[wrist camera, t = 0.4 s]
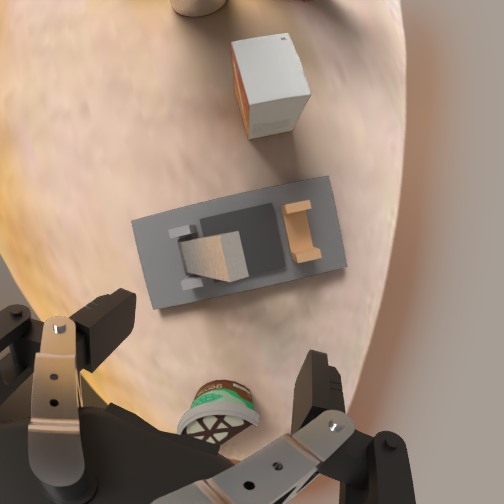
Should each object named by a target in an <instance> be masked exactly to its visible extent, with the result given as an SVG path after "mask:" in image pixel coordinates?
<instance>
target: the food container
mask: <svg viewBox="0 0 504 504" xmlns="http://www.w3.org/2000/svg"><path fill="white" fill-rule="evenodd" d="M259 419H260V415H259V414H258V413H257V412H255V411H254V407H253V403H252V398H251V394H250V390H249V389H248V388H246V387H245V386H244V385H241V384H239V383H237V382H235V381H229V380H215V381H212V382H209V383H207V384H205V385H204V386H202V387H201V388H200V389H199V391H198V392H197V394H196V396H195V399H194V401H193V403H192V406H191V408H190V410H189V411H187V412H186V413H185V414H184V415H183V416H182V418H181V419H180V421H179V424H178V427H177V434H179V435H186V436H192V437H195V438H198V439H201V440H204V441H207V442H210V443H213V444H217V445H221V444H223V443H224V442H226V441H227V440H229V439H230V438H232V437H233V436H235V435H236V434H237V433H239V432H241V431H242V430H244V429H246V428H247V427H249V426H250V425H252V424H253V425H255V426H256V427H257V423H259Z"/></svg>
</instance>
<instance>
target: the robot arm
mask: <svg viewBox="0 0 504 504" xmlns="http://www.w3.org/2000/svg"><path fill="white" fill-rule="evenodd" d="M170 1H171V4H172V7H173V9H174V10H175V11H176V12H177V13H179V14H181V15H184V16H190V17H197V16H204V15H207V14H210V13H213V12H215V11H216V10H218V9H220V8H221V7H222V6H223V5H224V3H225V2H226V0H170ZM135 309H136V294H135V293H132V292H130V291H127V290H125V289H122V288H120V289H118V290H117V291H115V292H114V293H113V294H111V295H109V294H107V295H103V296H100V297H97V298H96V299H95V300H93V301H92V302H90V303H89V304H87V305H86V307H83V308H82V309H80V310H79V311H77V312H76V313H75V314H73V315H72V316H70V317H69V318H67V317H63V316H55V317H51V318H49V319H48V320H46V321H45V322H41V321H37V320H34V319H31V312H30V310H29V308H28V307H26V306H24V305H18V304H17V305H11V306H8V307H6V308H5V309H3V310H2V311H0V352H1V351H2V350H4V349H5V348H6V347H7V346H9V348H10V353H8V354H7V355H6V356H5V357H4V358H3V359H1V360H0V405H1V404H2V403H3V402H4V401H5V400H6V399H7V398H8V397H9V396H10V395H11V394H12V393H13V392H14V391H15V390H16V389H17V388H18V387H19V386H20V385H21V384H22V383H23V382H24V381H25V380H26V379H27V378H28V377H29V376H30V375H31V374H32V373H33V372H34V375H33V388H32V404H31V417H28V418H22V419H16V420H9V421H2V422H0V504H287V503H288V502H289V501H290V500H291V499H292V498H293V497H294V496H296V495H297V494H298V493H299V492H300V491H302V490H303V489H304V488H305V487H306V486H308V485H309V484H310V483H311V482H312V481H313V480H314V479H315V478H317V476H319V475H320V474H323V475H326V476H328V477H330V478H333V479H335V480H338V481H340V494H339V495H340V496H339V504H416V501H415V494H414V487H413V481H412V475H411V469H410V464H409V458H408V453H407V448H406V444H405V442H404V441H403V439H402V438H401V437H400V436H399V435H397V434H395V433H393V432H390V431H382V432H379V433H377V434H376V436H375V437H372V436H369V435H366V434H364V433H361V432H359V431H358V430H356V429H355V425H354V422H353V420H352V419H351V418H350V417H349V416H348V415H347V414H345V405H344V398H343V392H342V385H341V384H342V383H341V376H340V374H339V372H338V371H337V369H336V368H335V367H332V366H328V359H327V354H326V353H322V352H318V351H314V350H310V351H309V352H308V354H307V356H306V359H305V361H304V363H303V366H302V368H301V370H300V372H299V375H298V377H297V380H296V383H295V388H294V400H293V414H292V426H291V436H290V435H289V434H285V435H283V436H281V437H280V438H278V439H277V440H275V441H273V442H272V443H270V444H269V445H267V446H266V447H264V448H263V449H261V450H259V451H258V452H256V453H254V454H253V455H251V456H249V457H248V458H246V459H244V460H243V461H241V462H239V463H238V464H236V465H235V464H233V463H232V462H231V461H230V460H228V459H227V458H225V457H224V456H222V455H220V454H219V453H218V451H219V448H220V445H217V444H213V443H210V442H207V441H204V440H201V439H198V438H195V437H192V436H186V435H179V434H173V433H168V432H163V431H159V430H158V429H156V428H155V427H153V426H152V425H150V424H149V423H147V422H146V421H144V420H143V419H142V418H140V417H139V416H137V415H136V414H134V413H132V412H130V411H128V410H125V409H123V408H121V407H119V406H117V405H115V404H113V403H110V404H109V405H108V406H107V408H106V409H104V408H99V407H83V403H82V393H81V383H80V382H81V381H80V371H81V370H82V369H85V370H87V371H89V372H91V373H93V372H94V371H95V370H96V368H97V367H98V366H99V365H100V364H101V363H102V362H103V361H104V360H105V359H106V358H107V357H108V356H109V355H110V354H111V353H112V352H113V351H114V350H115V349H116V348H117V347H118V346H119V345H120V344H121V343H122V342H123V341H124V340H125V339H126V338H127V337H128V336H129V335H130V333H131V332H132V329H133V327H134V322H135Z"/></svg>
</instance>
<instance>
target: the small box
mask: <svg viewBox="0 0 504 504" xmlns="http://www.w3.org/2000/svg"><path fill="white" fill-rule="evenodd" d="M231 52H232V65H233V78H234V91H235V94H236V97H237V100H238V103H239V107H240V111H241V114H242V118H243V122H244V126H245V130H246V134H247V138H248V140H250V139H254V138H259V137H263V136H268V135H273V134H278V133H283V132H289V131H292V130H293V128H294V126H295V124H296V122H297V120H298V118H299V116H300V115H301V113H302V111H303V109H304V107H305V105H306V103H307V101H308V99H309V98H310V96H311V92H310V88H309V85H308V82H307V79H306V76H305V73H304V70H303V67H302V64H301V61H300V58H299V56H298V54H297V52H296V49H295V47H294V44H293V42H292V40H291V37H290V35H289V33H284V34H275V35H268V36H261V37H255V38H249V39H243V40H238V41H233V42H231Z"/></svg>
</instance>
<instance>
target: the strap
mask: <svg viewBox="0 0 504 504" xmlns="http://www.w3.org/2000/svg"><path fill="white" fill-rule="evenodd" d="M177 242H178V247H179V251H180V255H181V259H182V263H183V267H184V271H185V275H186V276H190V275H195V274H196V275H201V276H205V277H210V278H214V279H218V280H223V281H227V282H232V281H236V280H239V279H242V278H245V277H249V275H248V270H247V266H246V262H245V257H244V253H243V248H242V244H241V240H240V235H239V231H235V232H230V233H224V234H219V235H213V236H208V237H203V238H197V239H194V237H193V236H190V237H186V238H182V239H178V240H177Z"/></svg>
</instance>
